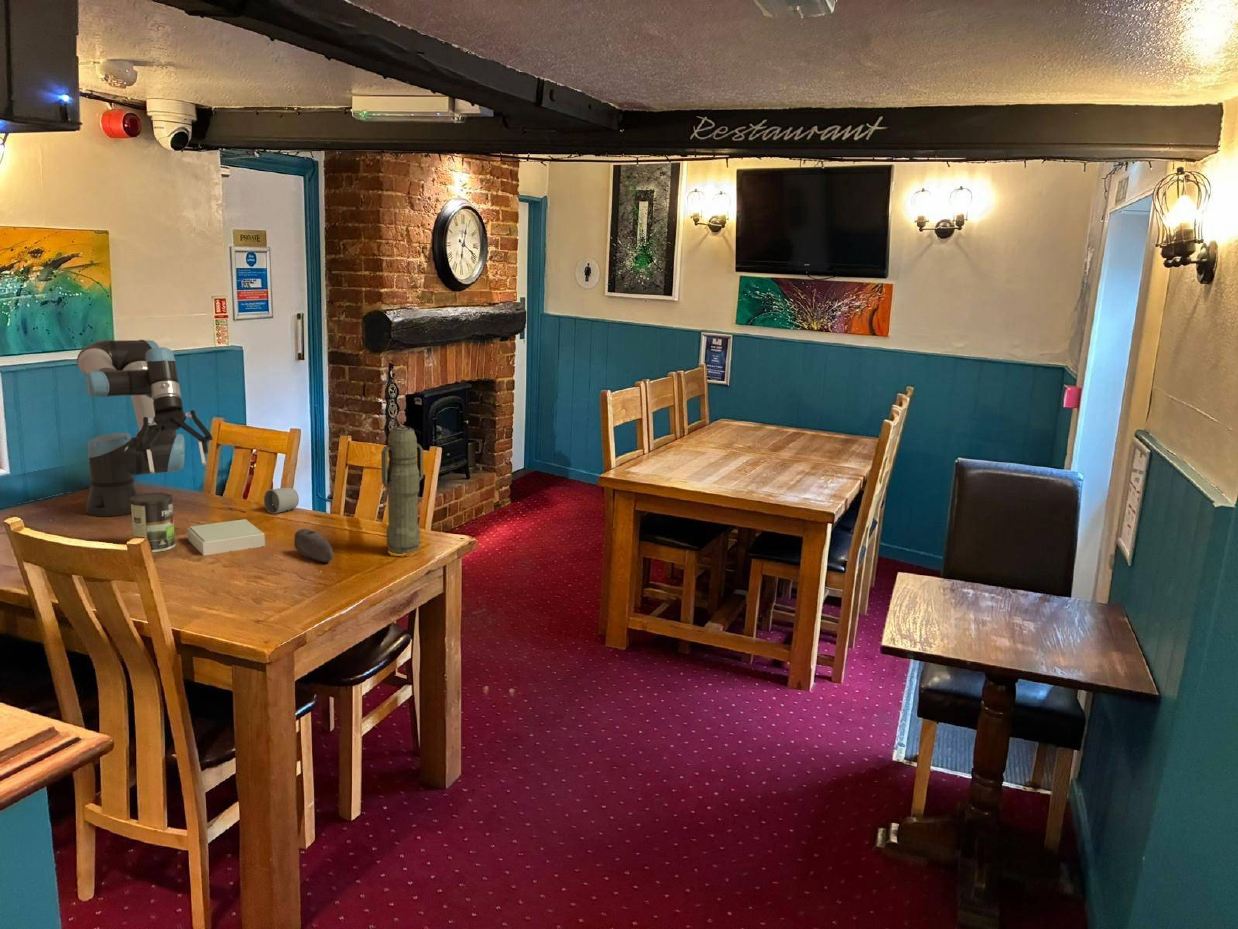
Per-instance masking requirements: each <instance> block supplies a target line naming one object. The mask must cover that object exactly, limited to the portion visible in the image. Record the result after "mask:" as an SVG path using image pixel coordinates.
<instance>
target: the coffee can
mask: <svg viewBox="0 0 1238 929" xmlns="http://www.w3.org/2000/svg"><path fill="white" fill-rule="evenodd" d="M173 498H174V497H173V494H170V493H166V492H148V493H146V492H145V493H140V494H139V495H135V496H132V497H131V498H130V504H131V514H130V517H131V526H132V528H131V529H132V539H133V538H134V537H145V538H147V539H148V541H149V543H150V546H151V550H152V553H160V552H165V551H169V550H172V549H173V548H175V546H176V539H175V524H174V523H175V522H174V506H173Z"/></svg>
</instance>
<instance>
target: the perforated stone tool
mask: <svg viewBox="0 0 1238 929" xmlns="http://www.w3.org/2000/svg"><path fill="white" fill-rule="evenodd" d="M293 543H294V545H293V546H294V548H295V550H296V551H297V552H298V553H300V554H301V555H303V556H304V557H306V558H308V559H311V558H312V559H311V560H314V561H317V560H318V561H317V562H320V561H322V563H329V562H331V561H332V559H333V557H334V556H333V555H334V551H333V550H334V549H333V547H332V545H331V544H330V543H329V541H328V540H327V539H326V538H325V537H323V536H322V535H321V534H320V533H318V532H316V531H313V530H311V529H309V528H300V529H298V530H297V531H296V532H295V534H294V542H293Z"/></svg>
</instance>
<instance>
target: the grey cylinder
mask: <svg viewBox="0 0 1238 929" xmlns="http://www.w3.org/2000/svg"><path fill="white" fill-rule="evenodd" d="M299 501H300V499H299V494H298V492H297V491H296V490H295V489H294V488H292V487H280V488H278V487H277V488H272V489H268V490H267V491H266V492H265V493H264V496H263V506H264V509H266V511H267V512H269V513H270V514H272V515H274V514H275V515H276V514H279V513H283V512H288V511H292V510H294V509H295V508H297V506H298V505H299ZM272 504H273V505H272ZM291 509H292V510H291ZM287 510H288V511H287Z"/></svg>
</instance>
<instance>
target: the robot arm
mask: <svg viewBox="0 0 1238 929" xmlns="http://www.w3.org/2000/svg"><path fill="white" fill-rule="evenodd" d="M76 358H77V359H76V365H77V367H78V369H79V371H80V372H81V373H82V374H83V375H84V376H86V386H87V388H86V389H87V393H88V395H89V396H90V397H91V398H92V397H93V398H95V397H96V398H99V397H100V398H106V397H107V398H108V397H123V396H125V397H126V396H130V397H131V401H132V405H133V409H134V413H135V419H136V422H137V426H138V432H137V433H136V434H135V437H132V435H131V433H128V432H114V433H113V432H112V433H107V434H103V435H99V436H96V437H94V438H92V439H90V441H89V442H88V445H87V457H88V464H89V478H90V479H89V480H90V490H89V493H88V496H87V500H86V504H85V511H86V514H87V513H88V514H87V515H90V516H93V517H116V516H117V517H118V516H125V515H131V514H130V513H131V504H130V498H131V497H132V496H135V495H139V491H138V490H137V487H136V485H135V476H138V475H139V476H140V475H154V474H163V473H165V474H166V473H168V474H169V473H173V472H179V471H181V470H183V468H184V465H185V457H186V456H185V453H186V451H185V450H186V447H185V444H186V443H185V437H184V435H183V434H181V433H177V432H176V431H178V430H179V429H180V428H182V429H183V430H184V431H185V432H187V433H188V434H190V435H191V436H193V438H195V439H197V440H198V447H199V452H200V457H201V458H200V460H201V464H202V466H203V467H205V466H207V461H206V457H205V454H208V452H209V450H208V449H209V448H208V442H209V441H212V440H213V438H214V437H213V436H212V434H211V433H210V431H209V430H208V429H207V428H206V427H205V425H204V424H203V423H202V421H200V419H199V418H198V417H197V413H196V411H195V410H194V409H193V410H190V412H189V411H188V412H184V406H183V400H182V395H181V394H182V393H181V389H180V383H179V378H178V373H177V365H176V361H177V360H176V359H175V355H174V351H173V350H172V349H170V348H168V347H160V346H159V344H158V343H156V342H155V341H154V340H148V339H138V340H133V339H132V340H129V339H128V340H127V339H125V340H108V339H107V340H99V341H95V342H93V343H90V344H88V345H87V346H85V347H83V348H82V349H81V350H80V351H79V353H78V354H77V357H76ZM187 418H188V419H189V420H193V422H194V424H195V425H196V426H197V427H198V429H199V430H200V431H201V432H202V433H203V434H204V436H203V435H202V434H200V433H199V432H198V431H196V430H195V429H194V428H192V427H191V426H190V425H188V424H187V422H185V421H186V419H187Z"/></svg>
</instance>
